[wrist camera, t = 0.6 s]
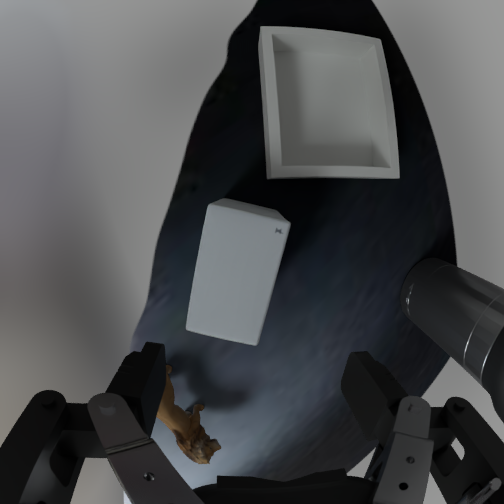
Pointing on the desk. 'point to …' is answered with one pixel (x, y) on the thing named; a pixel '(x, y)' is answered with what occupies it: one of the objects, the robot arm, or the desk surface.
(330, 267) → the desk surface
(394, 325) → the desk surface
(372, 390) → the robot arm
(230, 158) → the desk surface
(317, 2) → the desk surface
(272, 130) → the tray
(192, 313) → the skincare box
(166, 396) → the lion figurine
